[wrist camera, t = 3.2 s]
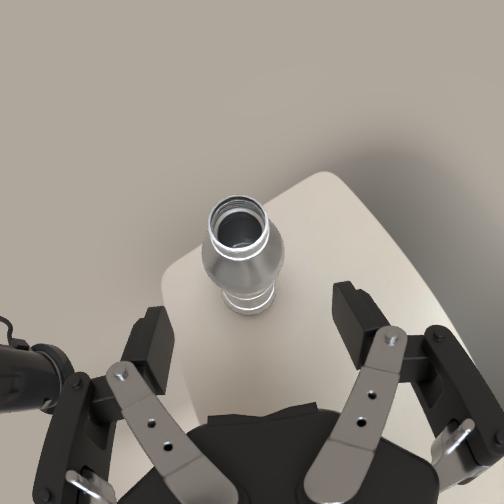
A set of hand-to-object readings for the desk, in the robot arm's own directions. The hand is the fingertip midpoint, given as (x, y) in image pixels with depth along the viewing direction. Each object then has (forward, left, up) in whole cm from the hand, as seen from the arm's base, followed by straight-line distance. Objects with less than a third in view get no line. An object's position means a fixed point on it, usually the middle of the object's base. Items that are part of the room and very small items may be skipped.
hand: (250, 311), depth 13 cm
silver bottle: (-3, +4, -22) cm, 23 cm away
